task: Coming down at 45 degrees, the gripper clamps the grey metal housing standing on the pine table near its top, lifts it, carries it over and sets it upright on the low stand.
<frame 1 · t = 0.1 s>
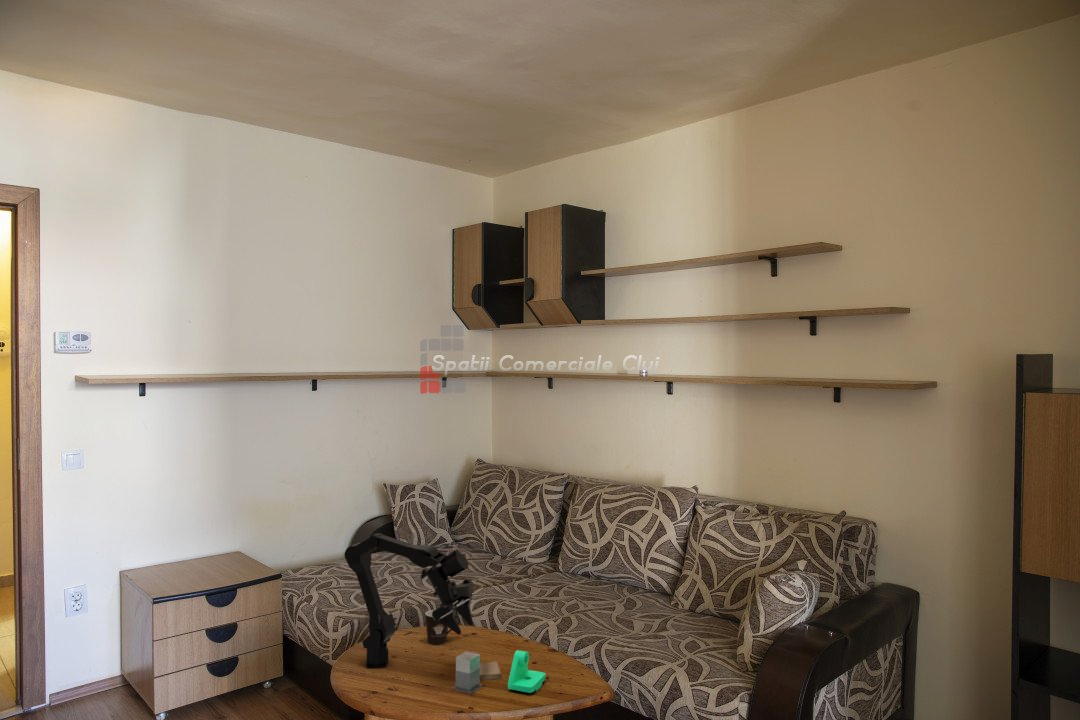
hand: (466, 629, 227), 15 cm above the table, tool tilted 35°, fingers open, 9 cm apart
stand: (483, 673, 230), on the table
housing: (467, 687, 219), on the table
camera mount: (527, 687, 220), on the table
coffee mug: (441, 642, 257), on the table
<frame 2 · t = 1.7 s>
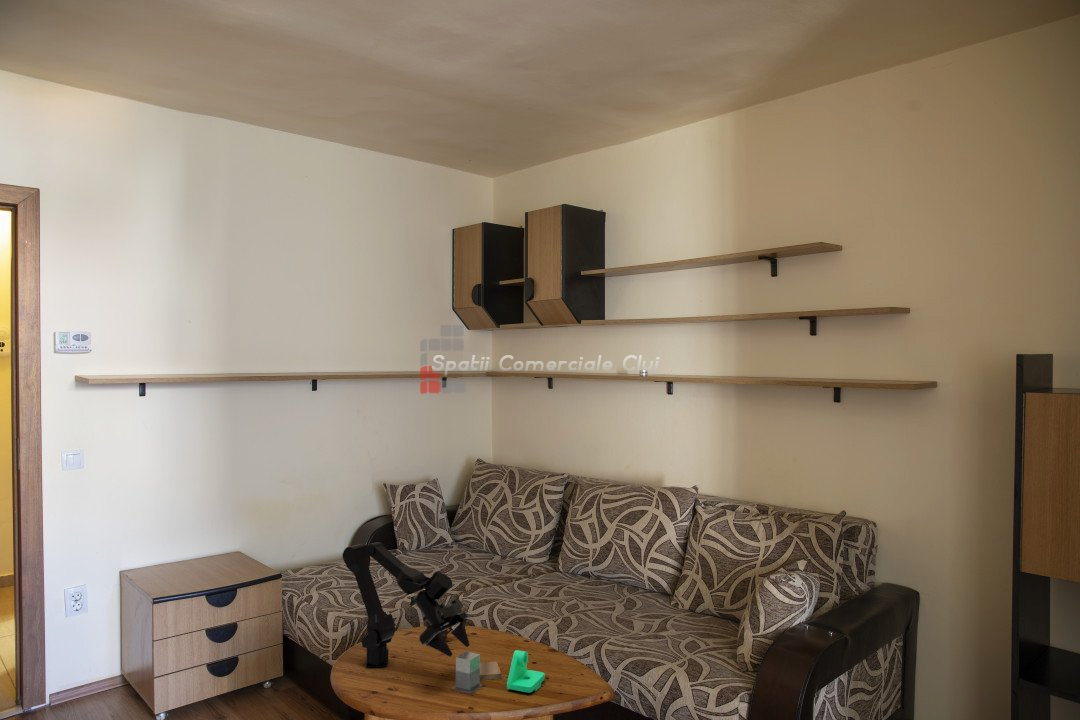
hand: (460, 650, 220), 10 cm above the table, tool tilted 45°, fingers open, 9 cm apart
nothing on the table moved.
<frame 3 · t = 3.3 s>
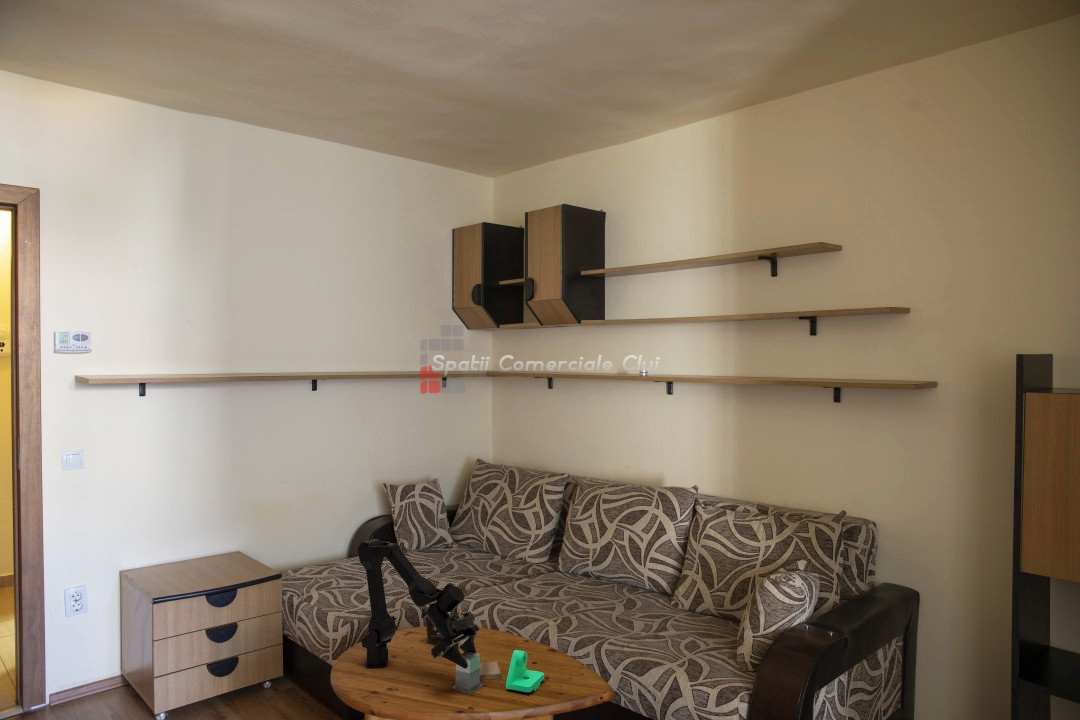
hand: (471, 664, 218), 7 cm above the table, tool tilted 45°, fingers closed on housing, 5 cm apart
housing: (467, 687, 219), on the table, touching gripper
everything else where it was.
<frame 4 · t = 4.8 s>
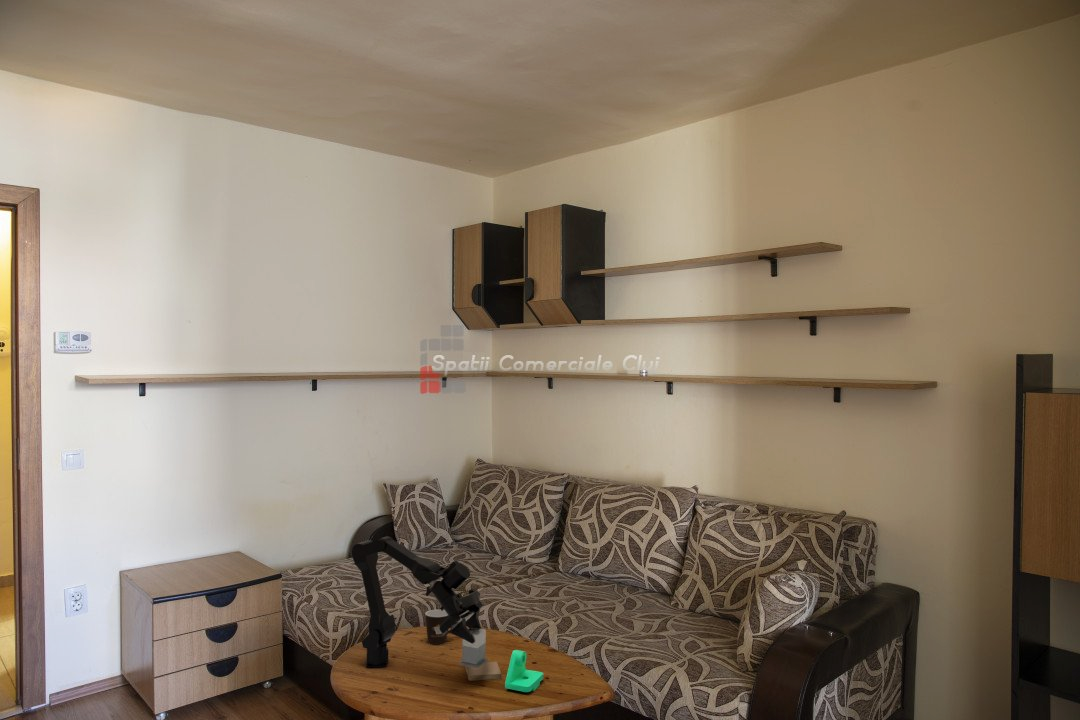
hand: (478, 639, 222), 13 cm above the table, tool tilted 45°, fingers closed on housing, 5 cm apart
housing: (473, 662, 222), point 6 cm above the table, touching gripper
everything else where it was.
when the fingers open (9 cm above the table, at t = 6.7 s): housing stays where it is, resting on stand.
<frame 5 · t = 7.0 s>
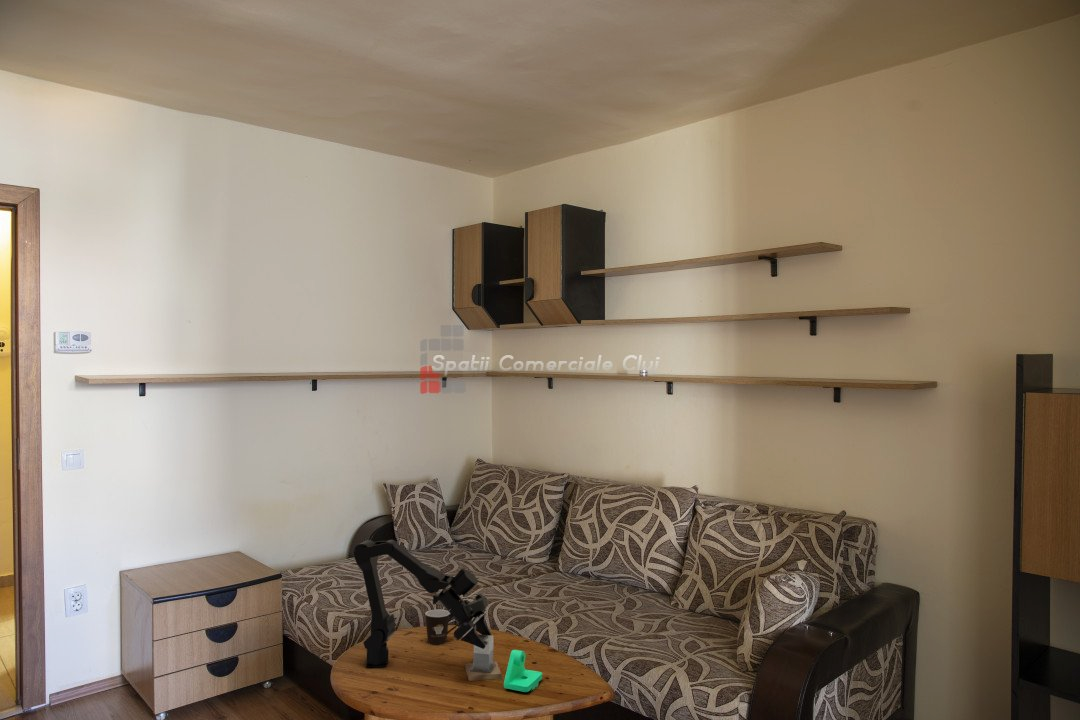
hand: (488, 642, 230), 10 cm above the table, tool tilted 45°, fingers open, 8 cm apart
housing: (483, 668, 230), point 1 cm above the table, touching stand
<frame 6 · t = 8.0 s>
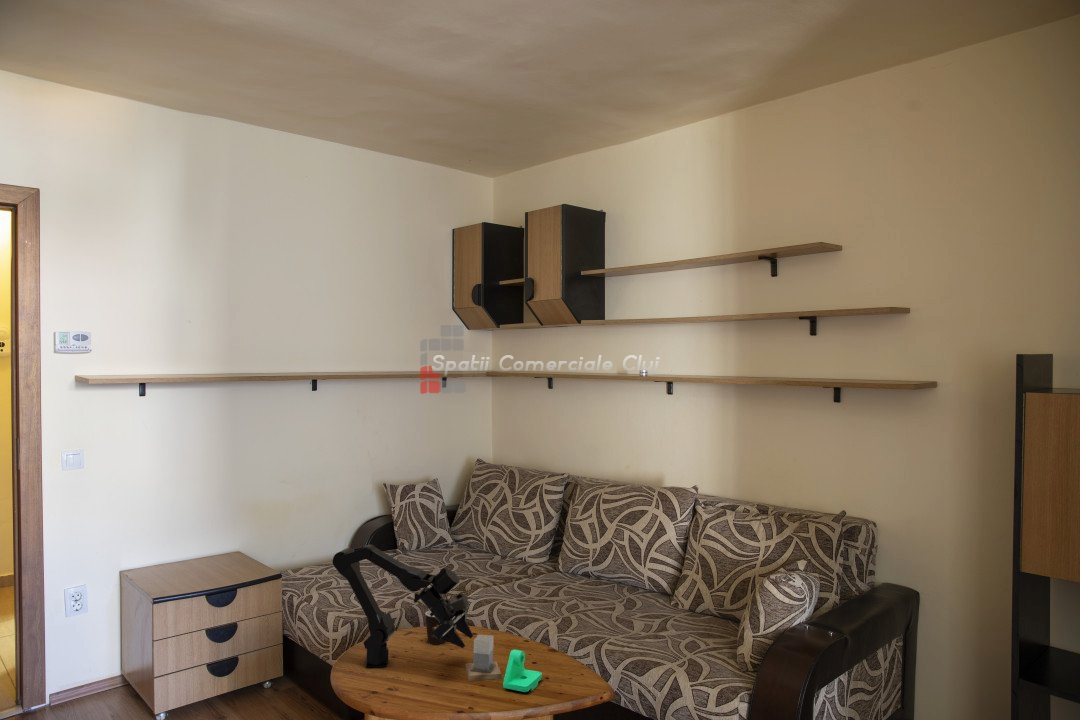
hand: (468, 642, 231), 9 cm above the table, tool tilted 45°, fingers open, 9 cm apart
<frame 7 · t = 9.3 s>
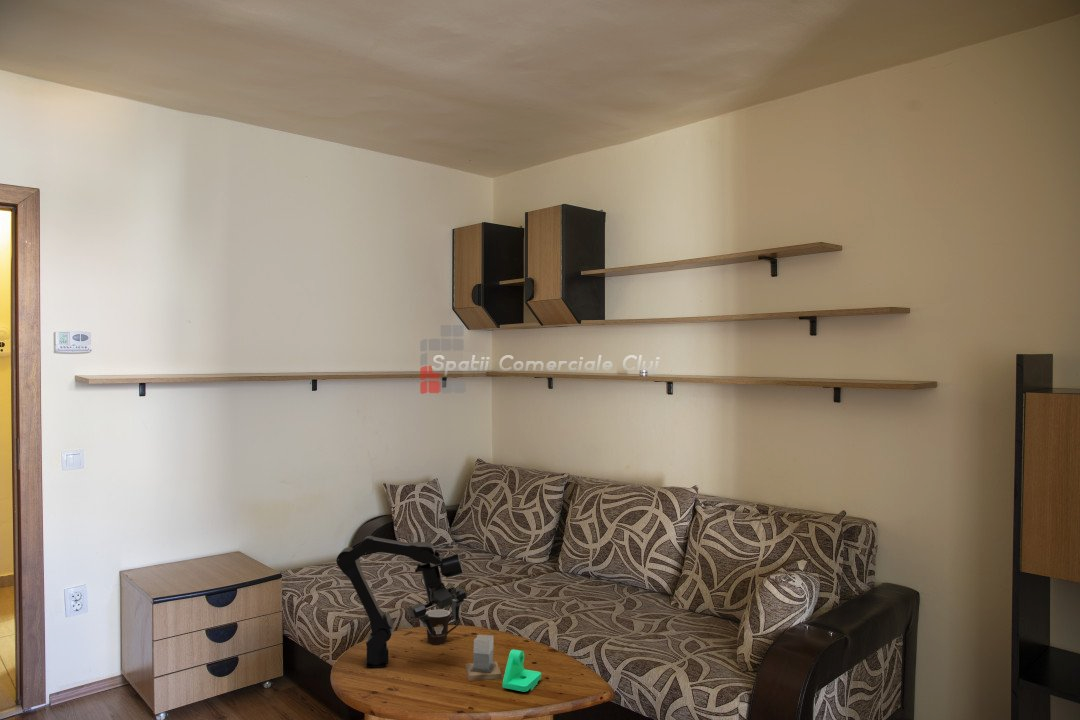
hand: (444, 628, 238), 11 cm above the table, tool pointing down, fingers open, 9 cm apart
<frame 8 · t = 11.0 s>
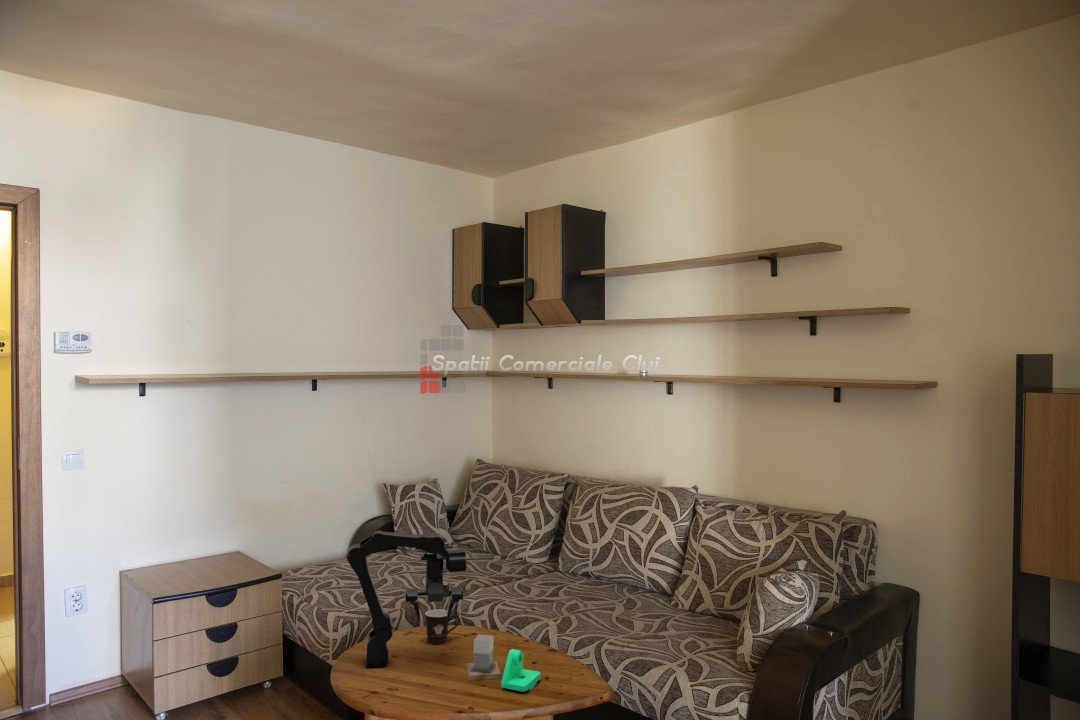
hand: (433, 620, 240), 13 cm above the table, tool pointing down, fingers open, 9 cm apart
at the end: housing inside the target area on the stand (0.0 cm from its centre), point 1.5 cm above the stand's base; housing tilted 0°; the gripper is holding nothing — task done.
